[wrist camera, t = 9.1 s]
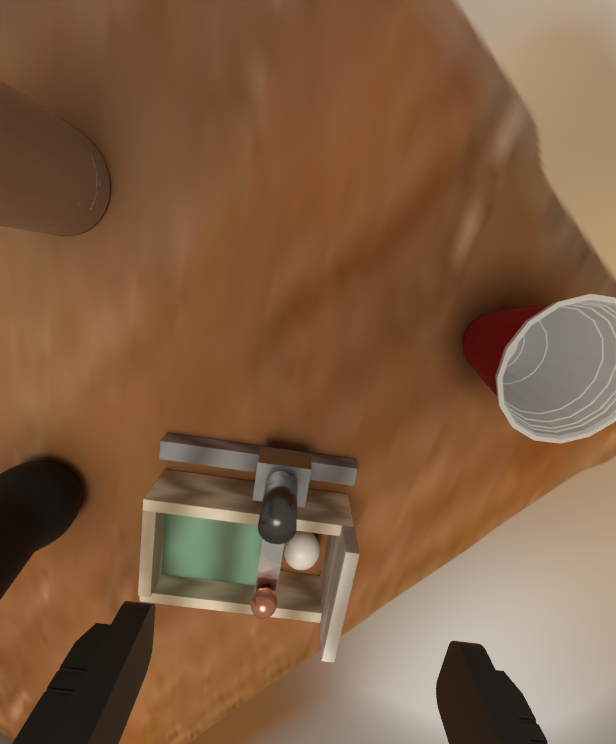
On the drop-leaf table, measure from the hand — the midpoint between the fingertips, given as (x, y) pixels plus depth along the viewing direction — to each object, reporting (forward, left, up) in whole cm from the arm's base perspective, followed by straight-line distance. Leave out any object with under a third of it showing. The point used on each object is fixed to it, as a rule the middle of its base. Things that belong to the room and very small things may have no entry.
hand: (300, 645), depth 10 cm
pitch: (-3, -17, -28) cm, 33 cm away
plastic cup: (+18, +6, -28) cm, 34 cm away
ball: (+3, -19, -26) cm, 32 cm away
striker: (-1, -14, -26) cm, 29 cm away
